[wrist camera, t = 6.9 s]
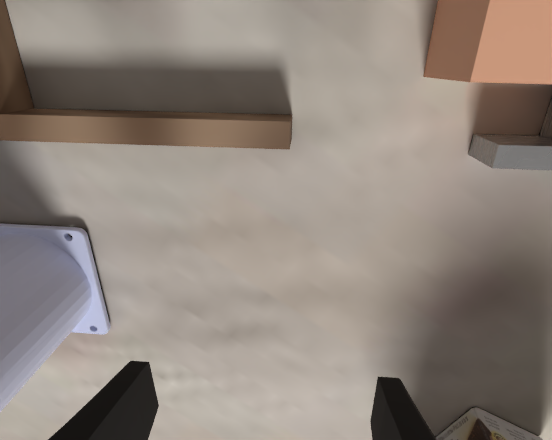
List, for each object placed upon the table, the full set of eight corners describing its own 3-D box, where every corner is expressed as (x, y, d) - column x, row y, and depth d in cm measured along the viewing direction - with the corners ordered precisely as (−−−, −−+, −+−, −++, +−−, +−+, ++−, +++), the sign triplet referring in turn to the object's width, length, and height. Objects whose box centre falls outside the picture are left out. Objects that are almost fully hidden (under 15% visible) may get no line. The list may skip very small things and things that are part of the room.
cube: (423, 76, 16) (470, 82, 11) (448, -60, 14) (519, -122, 9) (536, 79, 15) (633, 86, 11) (581, -60, 13) (724, -124, 9)
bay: (19, 131, 18) (-16, 139, 16) (-65, -149, 14) (-129, -185, 12) (291, 139, 17) (289, 149, 15) (300, -161, 13) (299, -203, 11)
